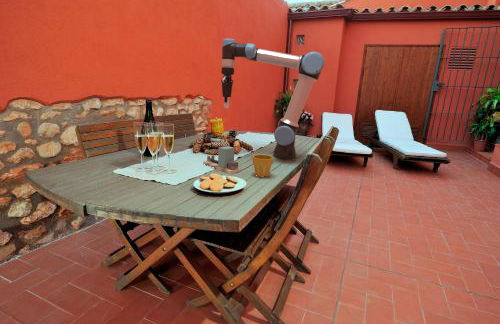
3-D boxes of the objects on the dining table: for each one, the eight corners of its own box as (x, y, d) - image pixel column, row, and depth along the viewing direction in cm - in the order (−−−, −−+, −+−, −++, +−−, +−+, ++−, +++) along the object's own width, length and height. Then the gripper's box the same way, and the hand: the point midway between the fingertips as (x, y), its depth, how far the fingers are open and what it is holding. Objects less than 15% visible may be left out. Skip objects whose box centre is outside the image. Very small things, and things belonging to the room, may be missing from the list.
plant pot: (247, 175, 140) (248, 156, 138) (257, 171, 149) (258, 153, 147) (266, 180, 136) (268, 160, 133) (275, 174, 145) (276, 156, 142)
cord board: (203, 164, 156) (203, 155, 154) (214, 162, 161) (214, 153, 160) (229, 174, 141) (230, 164, 140) (241, 171, 147) (241, 162, 145)
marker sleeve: (218, 165, 148) (218, 147, 145) (227, 163, 153) (228, 146, 150) (224, 168, 145) (225, 149, 142) (233, 166, 149) (234, 147, 147)
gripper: (226, 68, 174) (225, 107, 180) (217, 66, 162) (216, 107, 168) (237, 68, 172) (236, 108, 178) (229, 66, 160) (227, 109, 166)
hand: (226, 107), depth 173 cm, fingers closed
